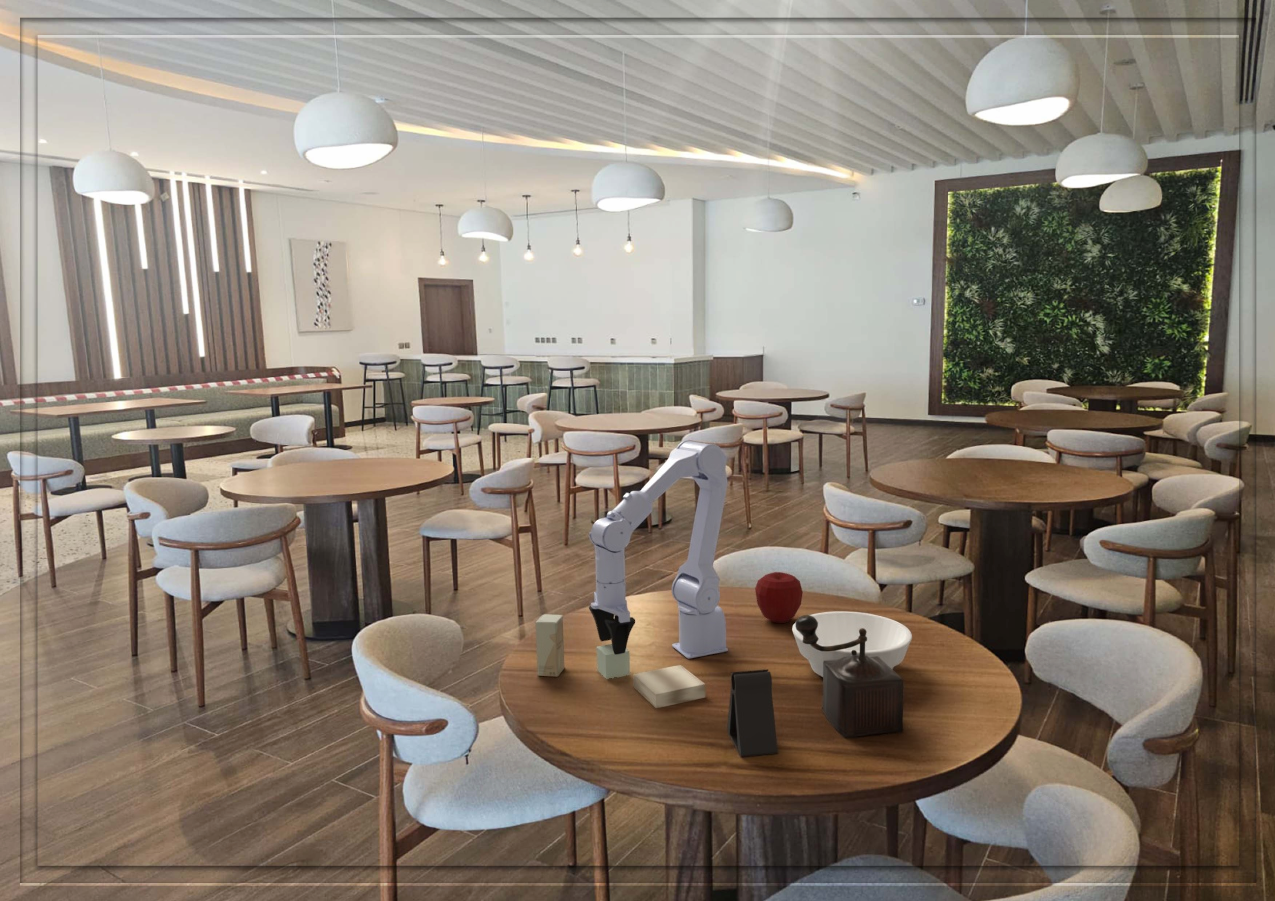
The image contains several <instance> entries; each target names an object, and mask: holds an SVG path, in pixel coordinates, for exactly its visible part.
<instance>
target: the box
mask: <svg viewBox="0 0 1275 901" xmlns="http://www.w3.org/2000/svg"><path fill="white" fill-rule="evenodd" d="M564 638H565V637H564V616H563V614H551V613H550V614H549V613H544V614H542V615H541V616H540V617H539V618H538V619H537V620H536V621H535V641H536V643H535V644H536V664H537V667H536V668H537V676H541V677H543V676H544V677H559V676H560V674H561V673H562V672H563V670H564V669H565V645H564V644H565V642H564V641H565V640H564Z"/></svg>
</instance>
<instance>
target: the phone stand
mask: <svg viewBox="0 0 1275 901" xmlns="http://www.w3.org/2000/svg"><path fill="white" fill-rule="evenodd" d="M772 686H773V680H772V674H771V671H769V669H766V668H765V669H757V670H755V669H754V670H745V671H742V670H741V671H732V672H731V674H730V695H729V703H728V704H729V705H728V712H727V713H728V714H727V716H728V717H727V723H726V724H727V726H726V732H727V733H728V735H729V738H730V740H731V741H732V743H733V745H734V747H735V749H736V751H737V753H738V755H739V757H740V756H741V757H740V758H745V757H757V756H767V755H777V754H778V753H779V749H778V741H777V739H778V738H777V731H776V720H775V709H774V702H773V688H772Z"/></svg>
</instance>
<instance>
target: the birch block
mask: <svg viewBox="0 0 1275 901" xmlns="http://www.w3.org/2000/svg"><path fill="white" fill-rule="evenodd" d="M632 677H633V678H632V679H633V688H634V689H635V691H637V692H638V693H639V694H640V695H641V696H642V697H643V698H644V699H645V700H646V701H647V702H648V703H650V704H651V705H652V706H653V707H654V708H655V709H660V708H664V707H669V706H672V705H677V704H678V705H679V704H681V703H686V702H691V701H695V700H699V699H700V700H701V699H704V698H706V683H705V682H704V681H702V680H701V679H700V678H698V677H697V676H695V675H694V674H693V673H692V672H690V671H689V670H688V669H686V668H685V667H684V666H683V665H681V664H678V665H673V666H667V667H663V668H659V669H658V668H657V669H653V670H649V671H642V672H637V673H633V675H632Z"/></svg>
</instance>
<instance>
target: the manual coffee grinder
mask: <svg viewBox="0 0 1275 901" xmlns="http://www.w3.org/2000/svg"><path fill="white" fill-rule="evenodd" d="M810 615H811V614H805V615H804V614H803V615H802V616H800V617H798V618H797V619H796V620H795V622H796V629H797V631H799V632H800V633H801V634H802V635H803V643H805V644H810V645H811V646H812V647H813V648H815V649H817V650H819V651H837V650H841V649H846V648H850V647H854V646H856V645H858V644H860V653H859V655H857V652H856V651H855V650H852V652H851V653H852V656H847V657H843V658H841V659H836V660H824V661H823V677H822V681H823V682H822V707H821V711H822V712H823V715H824V716H825V717H826V719H827V721H828V722H829V723H830V724H831V726H833V729H835V730H836V731H837V733H839V734H840V735H841V736H842V737H843V738H845V739H856V738H857V739H858V738H869V737H878V736H879V737H880V736H885V735H887V736H888V735H893V734H901V733H903V732H904V679H903V678H902V677H901V676H900V675H899V674H898V673H897V672H896V671H895V670H892V669H891V668H890V667H889V666H888V665H887V664H886V663H885V662H884V661H882V660H881V659H880V658H879V657H878V656H874V657H868V656H866V655H865V642H866V641H867V637H866V633H867V631H866V630H865V629H864V628H861V629H860V630H859V634H860V636H859V637H858V639H856V640H854V641H851V642H849V643H844V644H840V645H834V646H820V645H819V644H817V641H818V639H819V638H818V637H817V635H816V633H815V632H816V629H817V627H818V622H817V620H816V619H815V618H814V617H813V616H810Z"/></svg>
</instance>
